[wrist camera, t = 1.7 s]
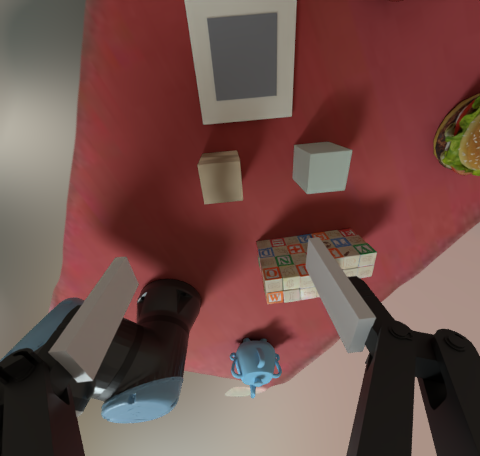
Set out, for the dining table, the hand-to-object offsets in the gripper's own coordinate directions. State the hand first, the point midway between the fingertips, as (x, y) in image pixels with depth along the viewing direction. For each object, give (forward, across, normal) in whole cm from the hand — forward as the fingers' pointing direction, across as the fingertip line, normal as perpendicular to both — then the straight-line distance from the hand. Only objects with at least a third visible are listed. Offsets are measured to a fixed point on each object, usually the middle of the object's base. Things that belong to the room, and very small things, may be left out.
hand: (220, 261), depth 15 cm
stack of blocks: (+26, -16, +19) cm, 36 cm away
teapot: (+26, -3, +57) cm, 63 cm away
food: (+26, -44, -3) cm, 51 cm away
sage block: (+26, -16, 0) cm, 30 cm away
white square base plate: (+26, -5, -15) cm, 30 cm away
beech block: (+26, 0, 0) cm, 26 cm away
